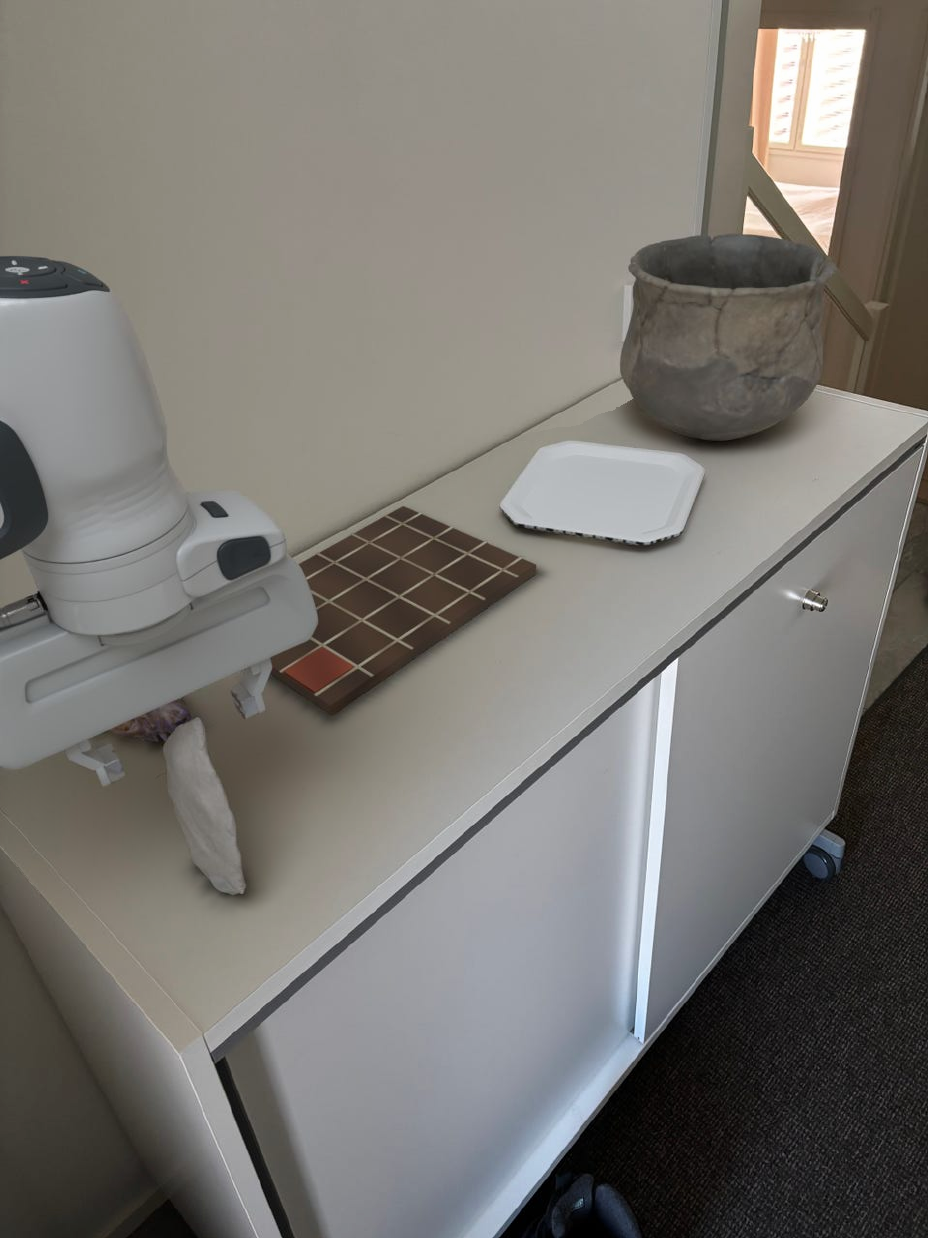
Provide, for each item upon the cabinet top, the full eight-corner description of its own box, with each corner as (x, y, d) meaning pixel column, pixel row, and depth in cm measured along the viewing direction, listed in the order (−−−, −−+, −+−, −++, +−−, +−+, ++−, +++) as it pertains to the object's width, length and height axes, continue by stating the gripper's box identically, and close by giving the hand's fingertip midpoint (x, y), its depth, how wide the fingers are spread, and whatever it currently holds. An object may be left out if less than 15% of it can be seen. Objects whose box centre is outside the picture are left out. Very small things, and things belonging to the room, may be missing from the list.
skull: (218, 720, 80) (191, 670, 76) (143, 777, 76) (111, 728, 73) (151, 667, 87) (123, 619, 83) (80, 716, 84) (47, 669, 80)
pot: (844, 422, 120) (879, 251, 107) (739, 488, 108) (764, 305, 95) (687, 374, 135) (700, 220, 122) (579, 427, 123) (581, 263, 110)
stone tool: (172, 858, 69) (114, 710, 60) (207, 832, 71) (157, 684, 62) (247, 927, 64) (196, 776, 55) (283, 897, 65) (240, 745, 56)
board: (331, 715, 80) (329, 704, 80) (202, 628, 92) (199, 617, 91) (536, 574, 96) (536, 562, 95) (404, 514, 107) (403, 503, 107)
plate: (709, 472, 111) (710, 455, 110) (674, 563, 96) (676, 545, 95) (545, 452, 118) (545, 436, 117) (489, 533, 103) (488, 516, 102)
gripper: (-71, 670, 44) (31, 854, 52) (309, 522, 53) (344, 701, 61) (-92, 609, 48) (5, 789, 57) (262, 482, 57) (301, 654, 65)
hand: (183, 742), depth 59 cm, fingers open, 8 cm apart
